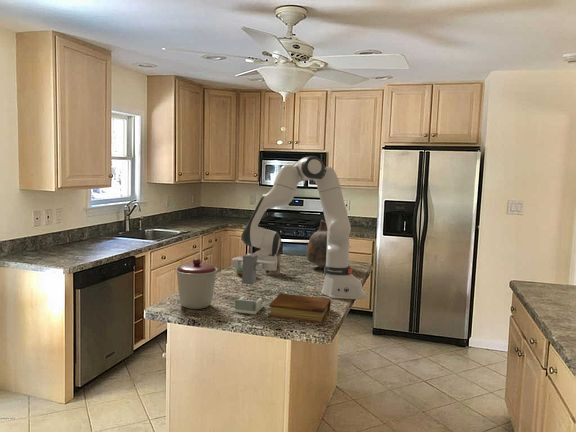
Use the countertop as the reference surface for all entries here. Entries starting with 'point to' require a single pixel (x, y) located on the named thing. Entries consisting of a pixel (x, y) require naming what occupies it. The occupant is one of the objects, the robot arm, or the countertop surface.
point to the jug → (318, 246)
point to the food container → (239, 271)
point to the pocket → (247, 305)
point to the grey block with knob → (249, 269)
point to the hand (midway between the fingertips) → (248, 267)
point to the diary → (300, 307)
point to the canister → (196, 284)
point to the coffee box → (277, 265)
